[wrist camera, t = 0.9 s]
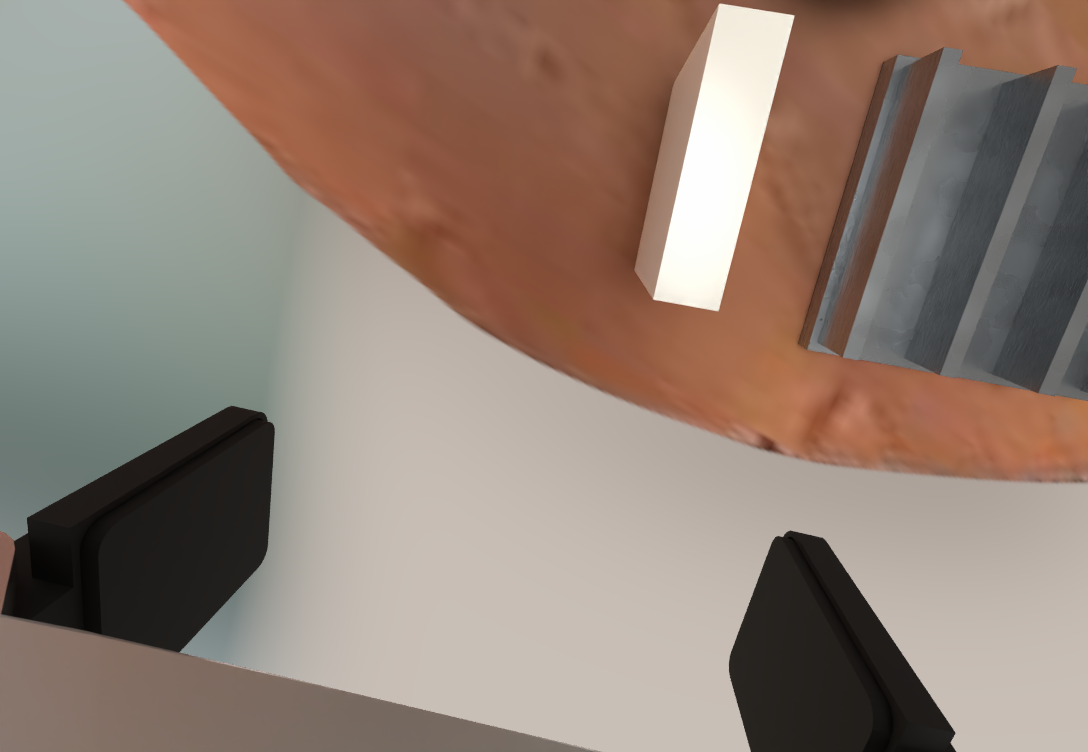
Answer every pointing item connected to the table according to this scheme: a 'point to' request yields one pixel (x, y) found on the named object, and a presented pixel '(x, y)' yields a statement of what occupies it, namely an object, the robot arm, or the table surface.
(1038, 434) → the table surface
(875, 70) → the table surface
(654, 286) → the white flat block
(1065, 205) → the rack
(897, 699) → the robot arm
